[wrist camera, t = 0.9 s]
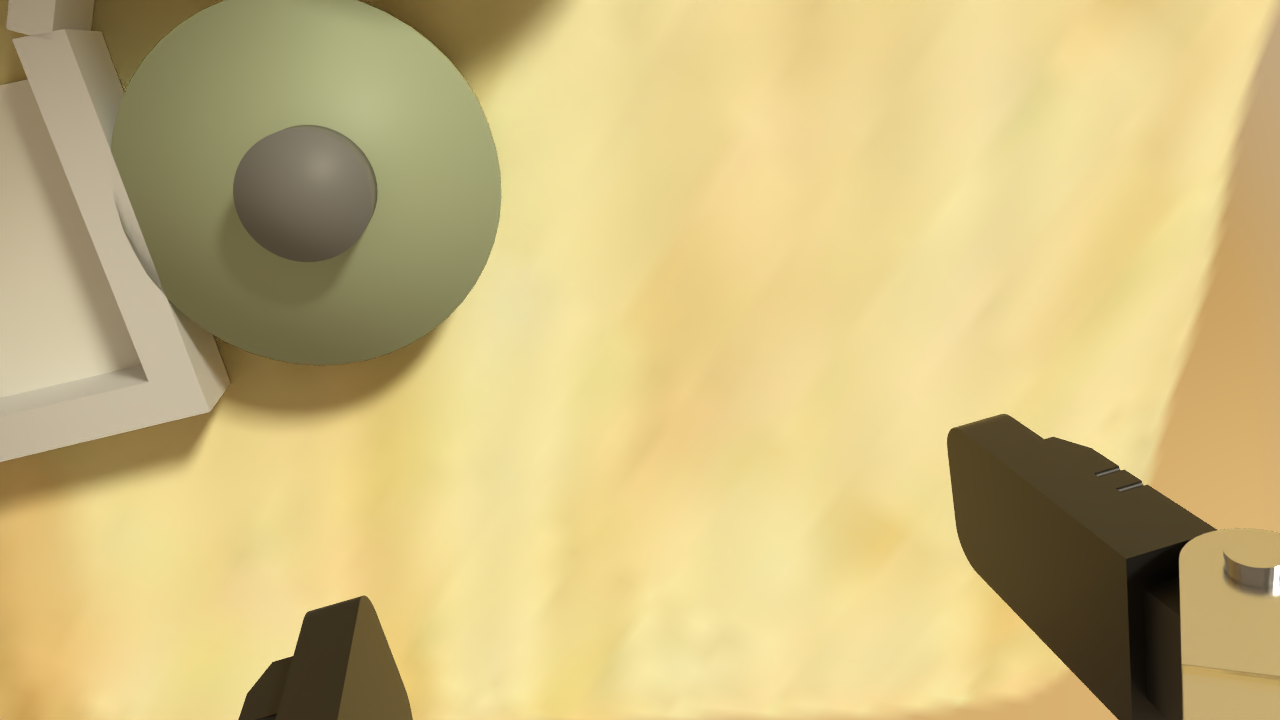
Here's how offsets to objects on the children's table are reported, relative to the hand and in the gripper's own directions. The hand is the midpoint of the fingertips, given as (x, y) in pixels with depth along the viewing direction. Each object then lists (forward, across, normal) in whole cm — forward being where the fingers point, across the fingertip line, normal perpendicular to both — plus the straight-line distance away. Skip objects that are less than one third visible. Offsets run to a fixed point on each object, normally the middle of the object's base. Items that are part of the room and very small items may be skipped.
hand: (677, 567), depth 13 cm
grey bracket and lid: (+24, +13, -6) cm, 28 cm away
